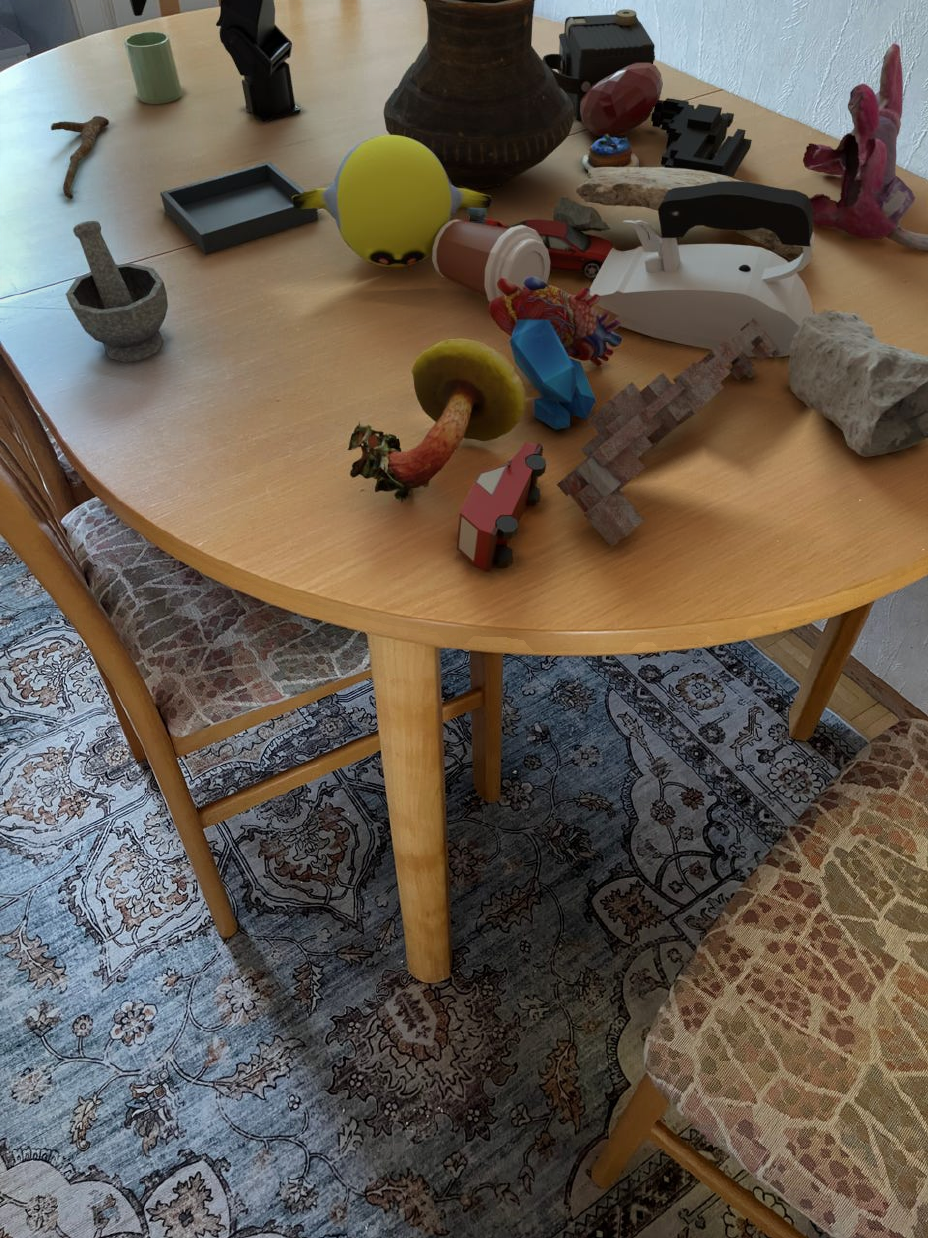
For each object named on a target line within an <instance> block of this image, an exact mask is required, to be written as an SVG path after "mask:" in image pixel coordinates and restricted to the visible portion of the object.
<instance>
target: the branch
mask: <svg viewBox="0 0 928 1238" xmlns="http://www.w3.org/2000/svg"><path fill="white" fill-rule="evenodd" d="M109 124H110V121H109V119H108V118H106V117H104V116H101V115H95V116H93V117H92V118H91V119H89V120H88V121H86V122H75V121H66V120H65V121H59V122H53V123H52V124H51V125H50V130H51V131H56V130H64V131H69V132H73V133H80V134H81V145H79V147H78V148H77V149H76V150H75V151H74V152H73V153H72V154H71V155H70V157H69V161H70V162H69V165H68V169H67V171H66V175H65V178H64V181H63V186H62V190H63V194H64V196H65V197H66V198H68V199H70V200H72V199H73V198H74V196H73V193H72V186H73V183H74V180H75V177H76V174H77V170H78V168H79V165H80V162H81V161H82V160H84V158H85V157H86V156H87V155H88V154H89V153H90V152H91V150H92V149H93V148H94V146H95V142H96V137H97V135H98V134H99V132H100V131H102V130H103V129H104V128H106V127H107V126H109Z"/></svg>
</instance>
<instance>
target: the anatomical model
mask: <svg viewBox="0 0 928 1238" xmlns="http://www.w3.org/2000/svg"><path fill="white" fill-rule="evenodd" d="M524 285H525V287H520V288H519V287H518V286H516V285H515V284H514V283H512V282H511V281H510V280H508V279H507V278H501V279H499V281H498V282H497V286H498V288H499V289H500V290H501V291H502V292H503V293H504V295H502V296H499V297H497V298H495V299H493V300H492V301H491V302H489V305H488V313H489V315H490V317H491V319H492V320H493V322H494V323H495V324H496V326H497V327H498V328H499V329H500V330H501V331H502V332H503V333H505V334H506V335H508V336H509V337H511V336H512V333H513V330H514V328H515V325H516V322H517V319H536V320H549V321H550V322H551V324H552V326H553V328H554V330H555V332H556V334H557V336H558V337H559V339H560V341H561V343H562V345H563V347H564V349H565V350H566V352H567V354H568V356H569V358H571V359H574V360H577V361H580V362H585V361H587V362H588V361H590V362H591V363H592V364H593V365H595V366H596V367H601V366H602V364H603V362H602V361H604V362H609V360H610V358H609V357H610V356H611V357H612V356H613V355H614V353H615V352H614V350H613V349H612V348H617V347H619V346H620V345H621V343H622V342H623V337H622V336H621V335H620V334H617V333H616V332H613V331H615V330H616V329H618V328H619V327H620V326H619V325H620V322H619V321H618V320H615V319H614V320H612V321H611V322H609V323H608V324H606V322H607V321H609V319H610V316H611V313H610V311H604V312H603V313H602V314H600V315H599V314H598V313H597V311H596V309H595V308H594V307H593V306H595V305H596V303H597V302H598V301H599V299H600V297H599V295H598V294H595V295H594V296H592V298H590V299H587V297H588V296H589V295H590V290H589V289H590V288H589V287H583V288H582V289H581V290H580V291H579V292H578V293H577V294H576V295H574V294H569V293H567V292H566V291H564V290H563V289H561V288H560V287H558V286H554V285H551V284H548V283H547V284H546V283H545V282H543V281H542V280H541V279H539V278H537V277H530V278H527V279H526V280H525V281H524ZM607 344H608V345H609V346H611V347H612V348H610V347H608V346H607ZM601 360H602V361H601Z"/></svg>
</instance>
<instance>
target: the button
mask: <svg viewBox="0 0 928 1238" xmlns="http://www.w3.org/2000/svg"><path fill="white" fill-rule="evenodd" d="M466 213H467V215H468V217H469V218H466V219H460V220H461V221H467V222H473V223H478V224H484V225H490V226H493V224H494V223H495V222H500V223H501V224H503V226H506V224H504V223H503V222H502V221H500V220H497V219H489V218H486V217H487V215H488V209H487V208H470V207H466ZM496 226H498V225H496Z"/></svg>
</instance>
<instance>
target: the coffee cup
mask: <svg viewBox="0 0 928 1238" xmlns="http://www.w3.org/2000/svg"><path fill="white" fill-rule="evenodd" d="M461 220H462V219H458V218H457V219H453V220H450V221H449V222H448V223H446V224H445V225H444V226H443V227H442V228H441V229H440V231H439V233H438V234H437V236H436V239H435V242H434V246H433V253H432V263H433V266H434V270H435V271H436V272H437V273H438V275H440V277H442V278H445V279H447V280H449V281H451V282H454V283H456V284H457V285H459V286H461V287H464V289H467V290H470V291H472V292H473V293H476V294H477V295H480V296H482V297H484V298H486V299H487V300H488V302H489V303H490V302H491V301H492V300H493V299H495V298H497V297H499V296H502V295H504V293H503V292H502V291H501V290H500V289H499V288H498V286H497V282H498V281H499V279H501V278H507V279H508V280H510V281H511V282H512V283H514V284H515V285H516V286H518V287H519V288H520V287H525V285H524V281H525V280H526V279H527V278H530V277H537V278H539V279H541V280H542V281H543V282H545V283H546V284H548V280H549V277H550V271H551V270H550V258H549V253H548V250H547V248H546V247H545V245H544V244H543V240H542V239H541V237H540V236H539V234H538V233H537V231H536V230H534V229H532V228H529V227H527V226H524V225H519V226H515V227H511V228H509V229H506V228H501V227H495V226H490V225H484V224H478V223H473V222H467V221H461Z"/></svg>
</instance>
